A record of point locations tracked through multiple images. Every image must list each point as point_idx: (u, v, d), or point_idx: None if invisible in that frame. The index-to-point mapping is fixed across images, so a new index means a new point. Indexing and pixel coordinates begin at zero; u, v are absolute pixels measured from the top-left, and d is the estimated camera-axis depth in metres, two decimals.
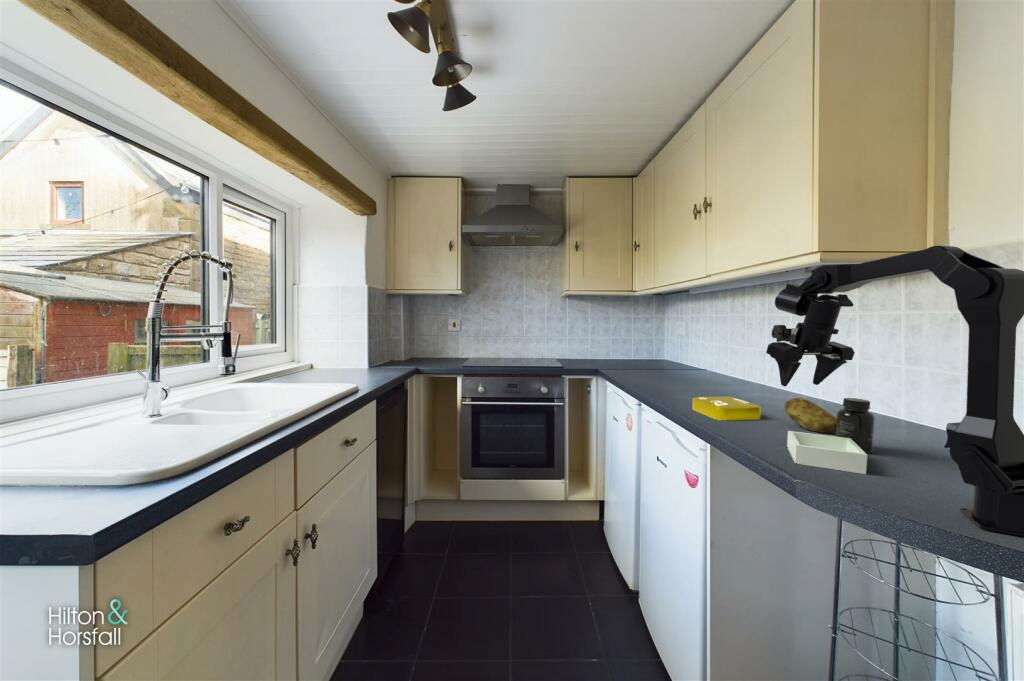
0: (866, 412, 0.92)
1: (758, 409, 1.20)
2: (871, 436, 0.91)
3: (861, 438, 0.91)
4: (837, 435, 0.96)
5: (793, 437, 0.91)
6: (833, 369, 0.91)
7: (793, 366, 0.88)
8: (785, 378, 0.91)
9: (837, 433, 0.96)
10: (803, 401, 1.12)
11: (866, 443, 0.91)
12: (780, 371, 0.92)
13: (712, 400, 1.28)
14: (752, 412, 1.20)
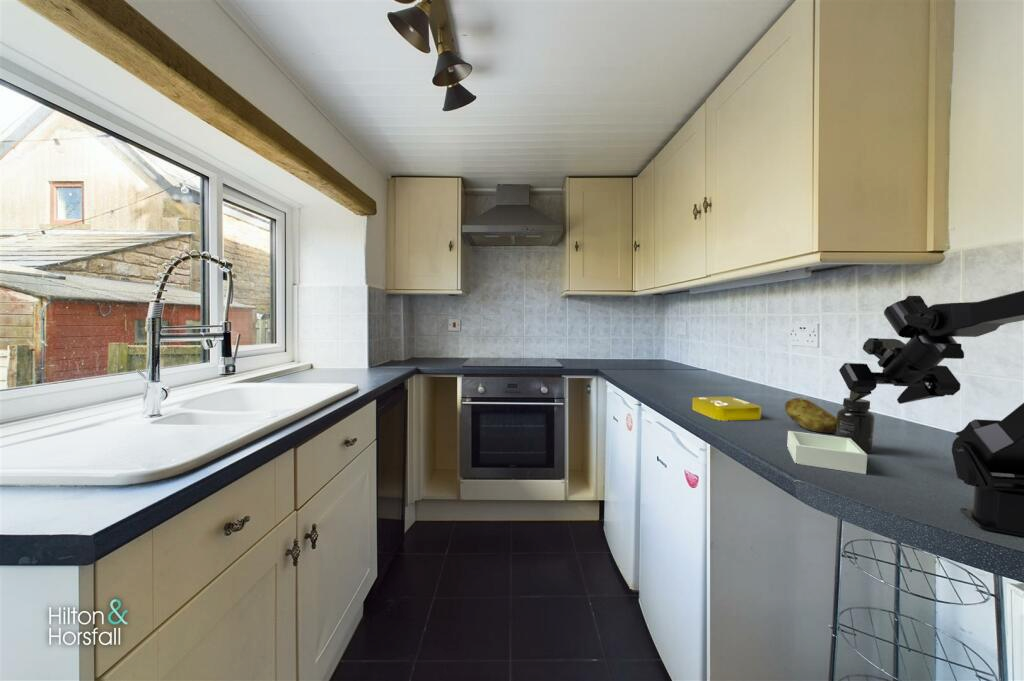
0: (866, 412, 0.92)
1: (758, 409, 1.20)
2: (871, 436, 0.91)
3: (861, 438, 0.91)
4: (837, 435, 0.96)
5: (793, 437, 0.91)
6: (923, 398, 0.82)
7: (860, 394, 0.83)
8: (853, 396, 0.86)
9: (837, 433, 0.96)
10: (803, 401, 1.12)
11: (866, 443, 0.91)
12: None
13: (712, 400, 1.28)
14: (752, 412, 1.20)
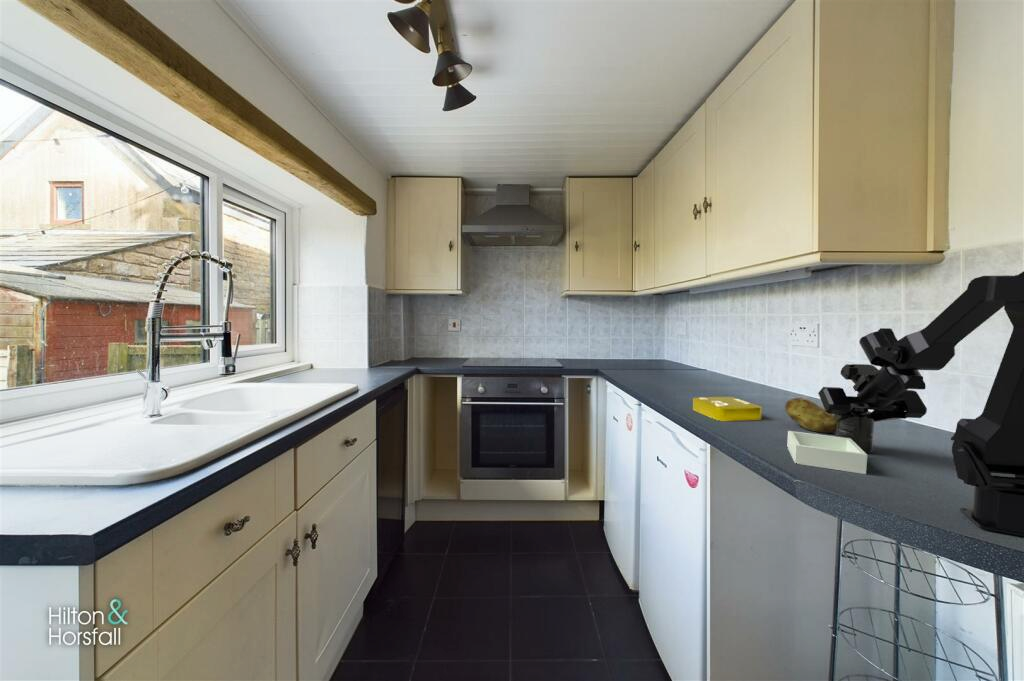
0: (866, 412, 0.92)
1: (759, 409, 1.19)
2: (871, 436, 0.91)
3: (861, 438, 0.91)
4: (837, 435, 0.96)
5: (793, 437, 0.91)
6: (888, 419, 0.90)
7: (842, 416, 0.91)
8: (837, 417, 0.95)
9: (837, 433, 0.96)
10: (803, 401, 1.12)
11: (866, 443, 0.91)
12: None
13: (713, 400, 1.28)
14: (752, 412, 1.19)
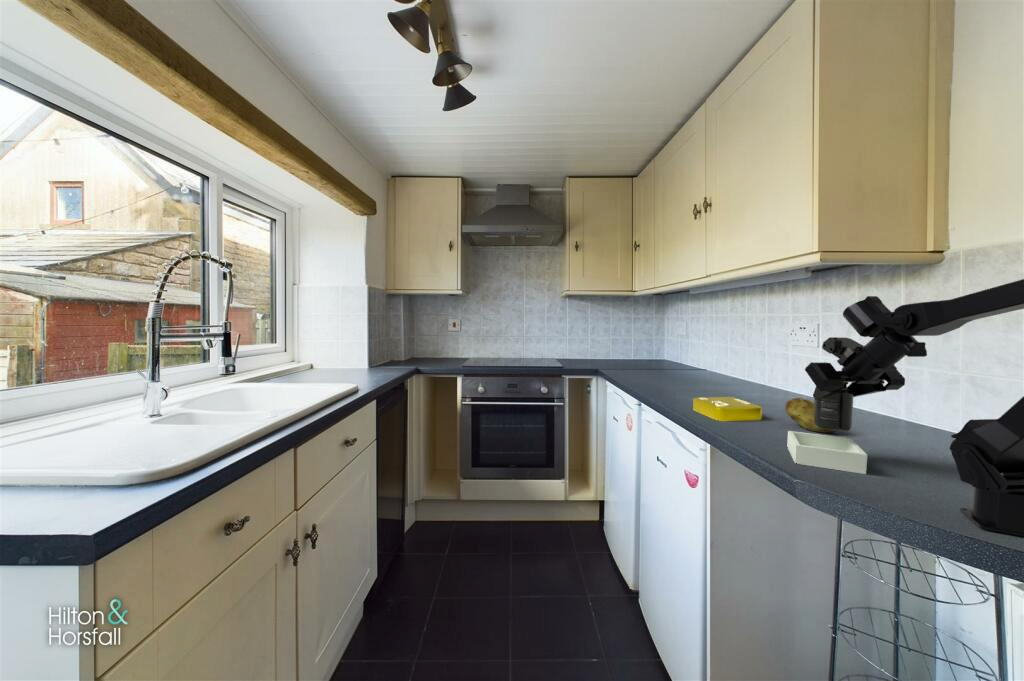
0: (846, 387, 0.87)
1: (759, 410, 1.19)
2: (852, 412, 0.87)
3: (844, 415, 0.86)
4: (818, 414, 0.89)
5: (793, 437, 0.91)
6: (867, 393, 0.86)
7: (831, 392, 0.84)
8: (819, 394, 0.88)
9: (818, 412, 0.89)
10: (803, 401, 1.11)
11: (849, 420, 0.86)
12: (817, 386, 0.88)
13: (713, 400, 1.27)
14: (752, 412, 1.19)
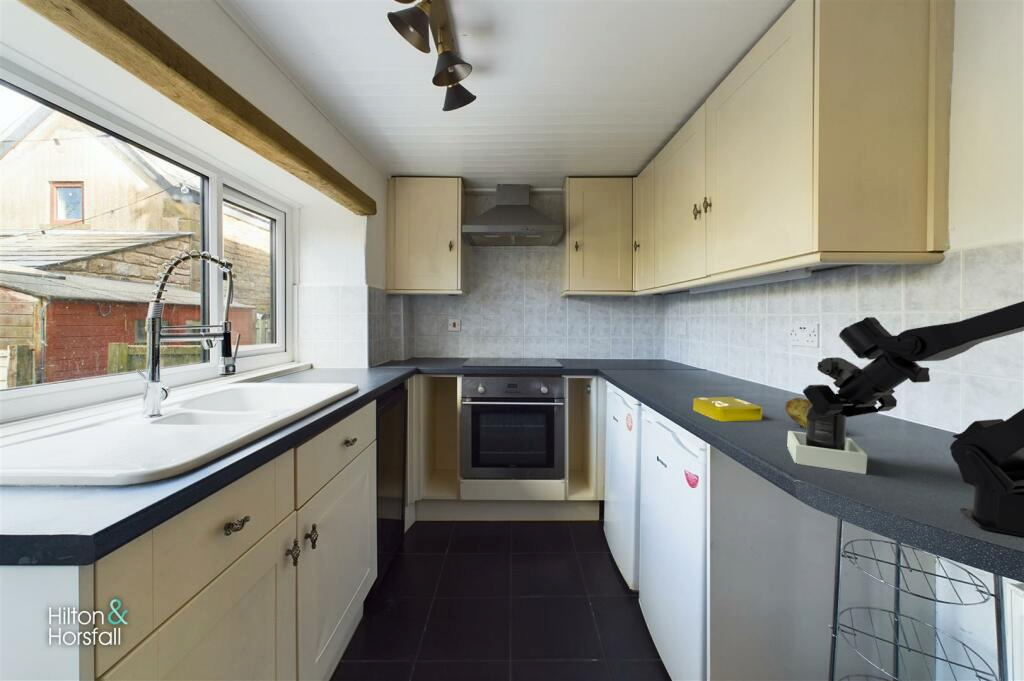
0: None
1: (759, 410, 1.19)
2: (845, 434, 0.85)
3: (839, 438, 0.84)
4: (812, 436, 0.87)
5: (793, 437, 0.91)
6: None
7: (829, 416, 0.81)
8: (814, 417, 0.85)
9: (812, 434, 0.87)
10: (804, 401, 1.11)
11: (843, 443, 0.84)
12: (812, 408, 0.85)
13: (713, 401, 1.27)
14: (753, 412, 1.19)
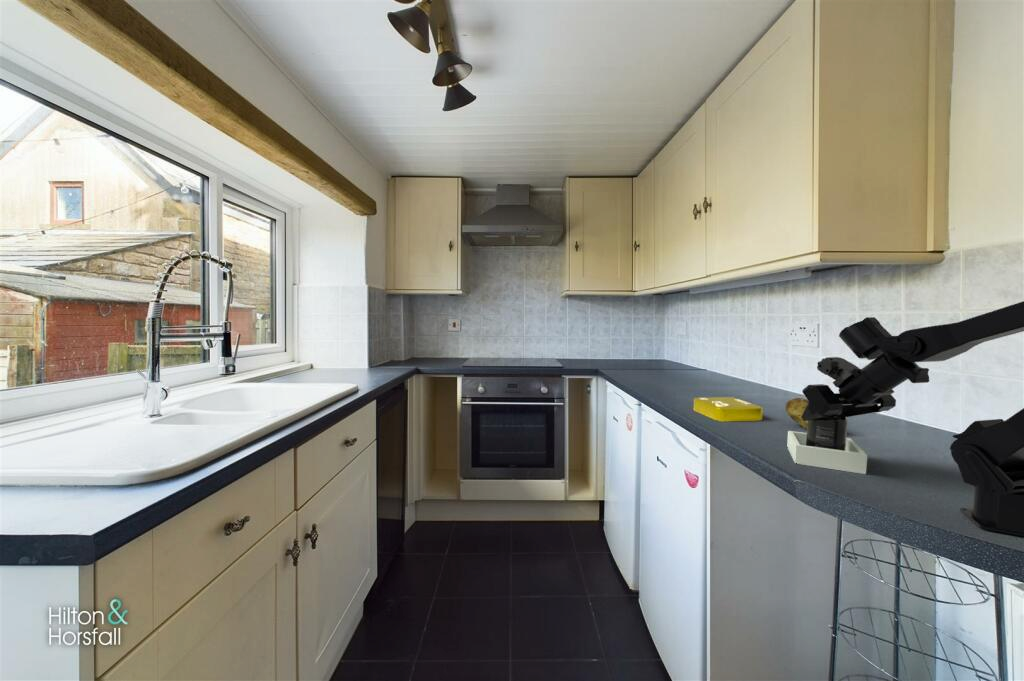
0: (841, 415, 0.85)
1: (759, 410, 1.19)
2: (845, 440, 0.85)
3: (839, 444, 0.84)
4: (812, 442, 0.87)
5: (793, 437, 0.91)
6: (863, 414, 0.85)
7: (824, 416, 0.81)
8: (809, 416, 0.85)
9: (812, 439, 0.87)
10: (804, 401, 1.11)
11: (843, 449, 0.84)
12: (807, 408, 0.85)
13: (713, 401, 1.27)
14: (753, 413, 1.19)
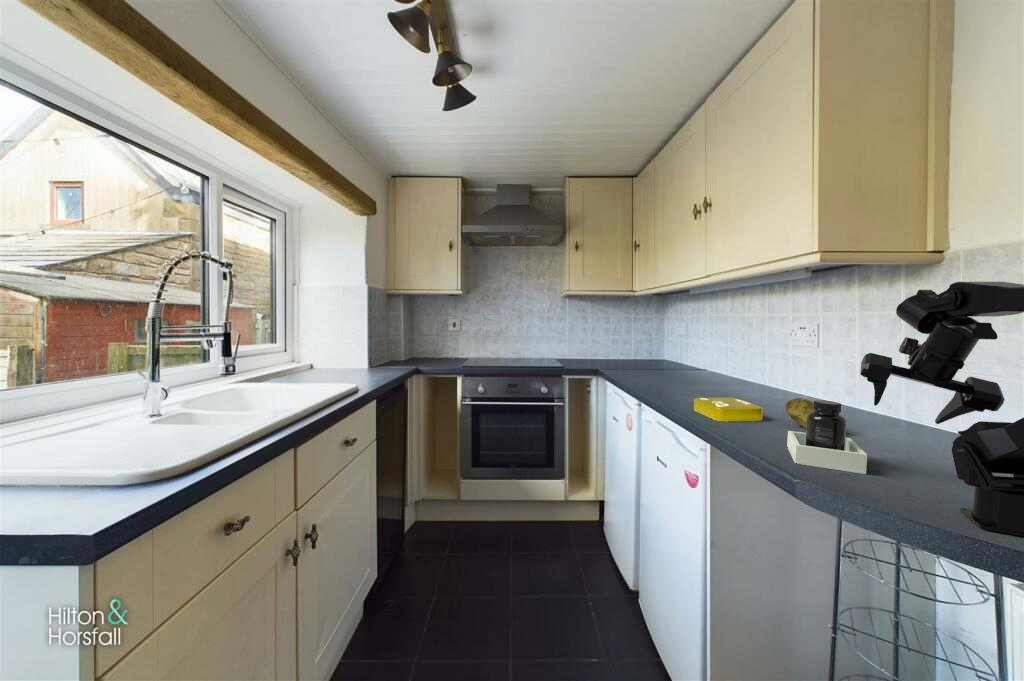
0: (840, 415, 0.85)
1: (760, 410, 1.18)
2: None
3: (839, 445, 0.84)
4: (812, 443, 0.87)
5: (793, 437, 0.91)
6: (957, 412, 0.72)
7: (874, 384, 0.77)
8: (874, 396, 0.80)
9: (812, 440, 0.87)
10: (804, 401, 1.11)
11: (843, 449, 0.84)
12: None
13: (714, 401, 1.27)
14: (753, 413, 1.18)
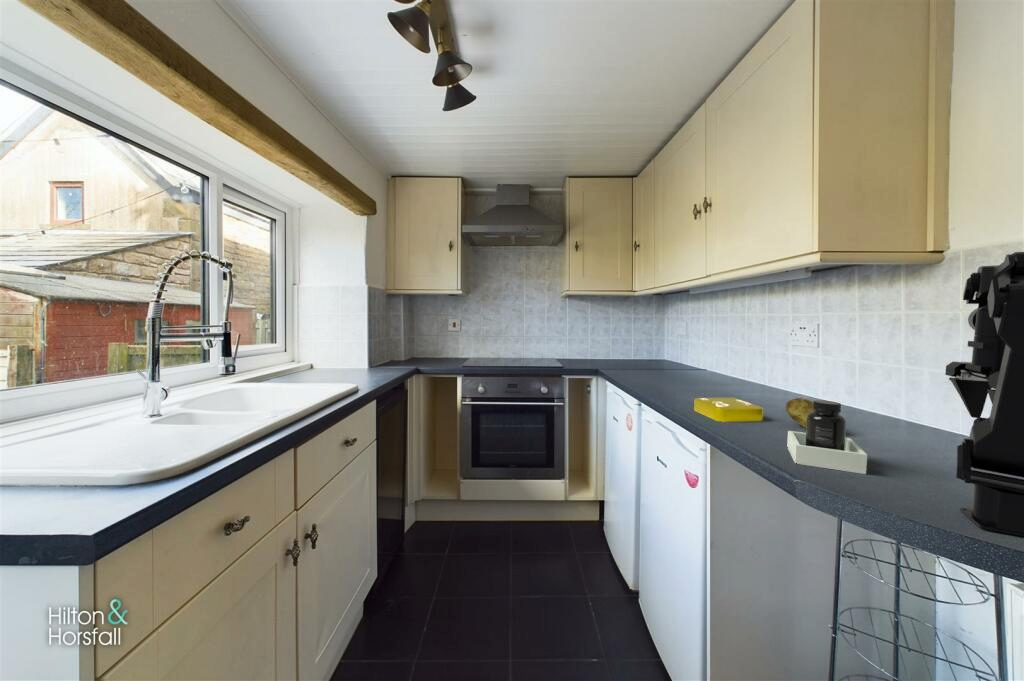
0: (839, 415, 0.85)
1: (760, 411, 1.18)
2: (844, 440, 0.85)
3: (839, 445, 0.84)
4: (812, 443, 0.87)
5: (793, 437, 0.91)
6: (993, 402, 0.66)
7: (952, 382, 0.77)
8: None
9: (811, 440, 0.87)
10: (804, 401, 1.11)
11: (843, 449, 0.84)
12: None
13: (714, 401, 1.27)
14: (753, 413, 1.18)
